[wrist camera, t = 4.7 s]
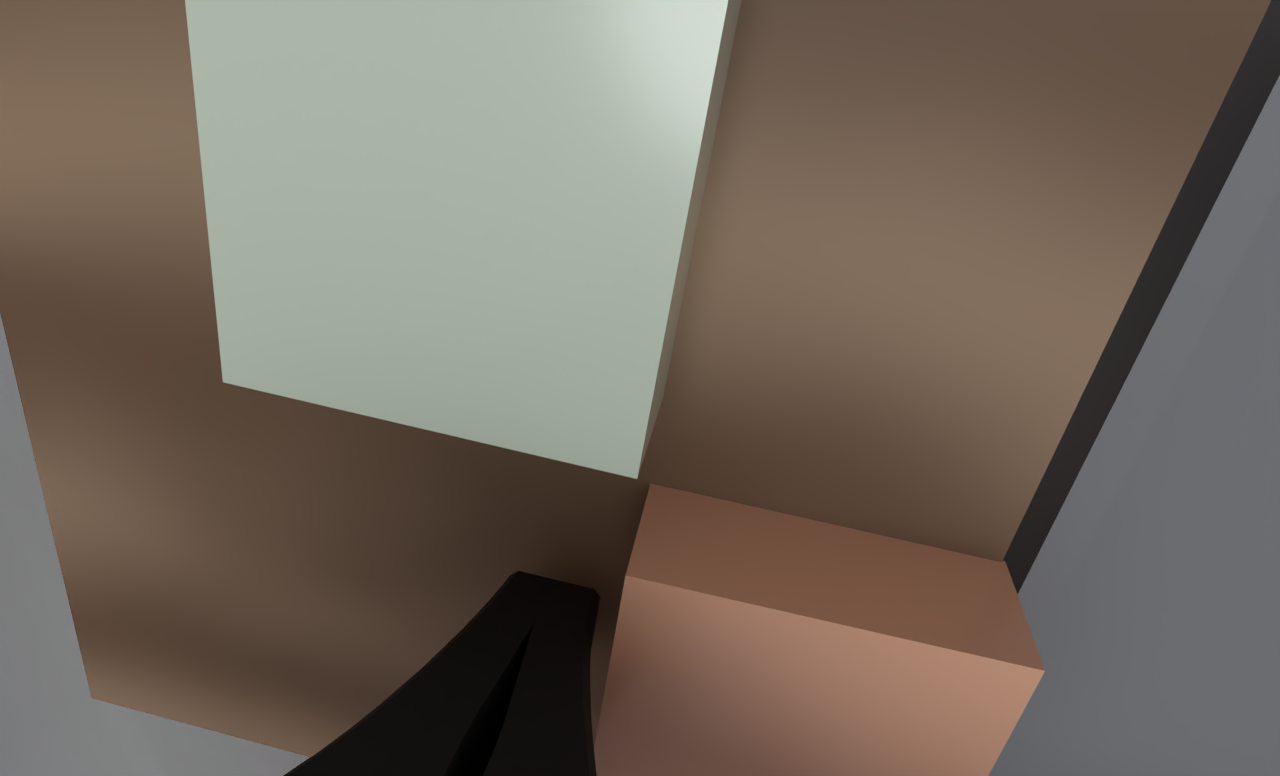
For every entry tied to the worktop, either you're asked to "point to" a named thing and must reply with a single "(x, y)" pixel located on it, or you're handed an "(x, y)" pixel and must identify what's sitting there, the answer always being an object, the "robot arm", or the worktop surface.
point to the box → (1172, 491)
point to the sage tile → (459, 207)
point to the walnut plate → (700, 362)
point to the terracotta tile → (807, 650)
